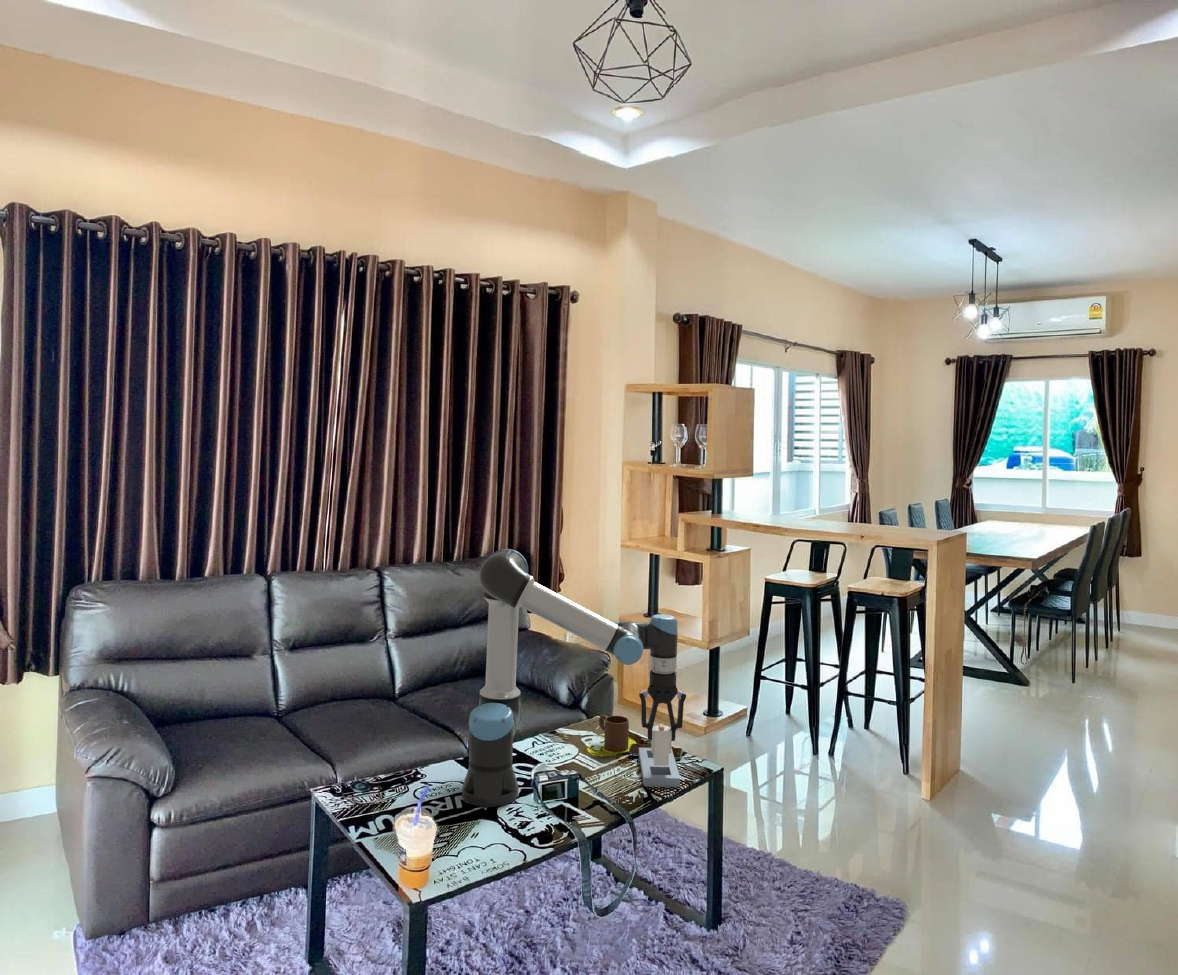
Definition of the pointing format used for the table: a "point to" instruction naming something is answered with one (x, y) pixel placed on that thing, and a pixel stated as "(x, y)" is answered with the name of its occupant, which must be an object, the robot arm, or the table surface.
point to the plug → (661, 746)
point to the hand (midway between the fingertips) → (661, 751)
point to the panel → (658, 770)
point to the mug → (615, 732)
